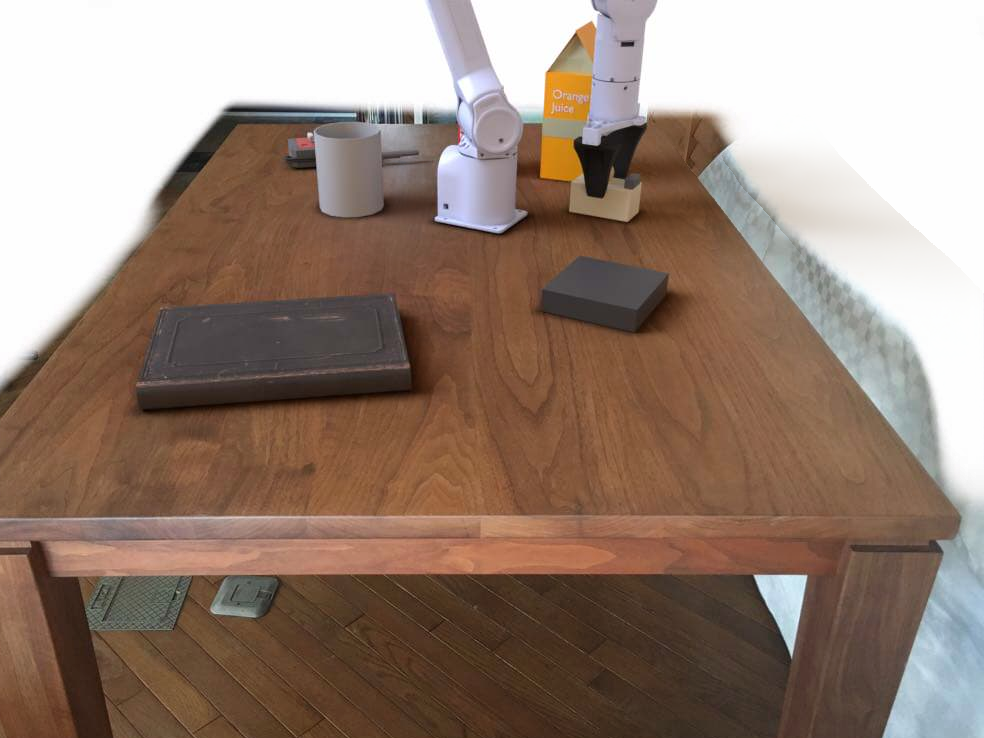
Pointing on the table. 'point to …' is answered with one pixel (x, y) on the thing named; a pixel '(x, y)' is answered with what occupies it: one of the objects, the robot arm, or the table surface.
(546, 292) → the black box
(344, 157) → the cup
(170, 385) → the hardcover book
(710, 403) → the table surface
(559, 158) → the orange juice
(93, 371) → the table surface
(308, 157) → the walkie-talkie
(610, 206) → the tape dispenser
